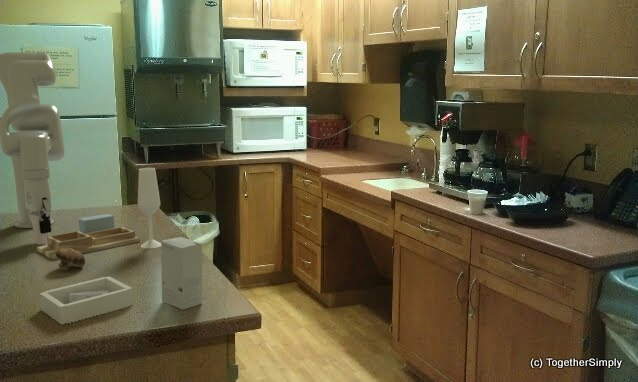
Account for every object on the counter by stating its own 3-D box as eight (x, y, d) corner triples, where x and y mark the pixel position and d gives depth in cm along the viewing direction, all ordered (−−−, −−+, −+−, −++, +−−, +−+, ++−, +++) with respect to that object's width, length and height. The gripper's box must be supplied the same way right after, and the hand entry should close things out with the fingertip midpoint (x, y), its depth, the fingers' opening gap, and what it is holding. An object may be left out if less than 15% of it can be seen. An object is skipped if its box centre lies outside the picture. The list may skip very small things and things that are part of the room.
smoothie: (45, 246, 189) (41, 202, 187) (27, 245, 191) (22, 201, 188) (58, 240, 196) (54, 197, 193) (40, 239, 197) (36, 197, 194)
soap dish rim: (40, 309, 139) (39, 292, 138) (109, 291, 150) (108, 275, 149) (62, 325, 130) (60, 307, 129) (133, 305, 141) (132, 288, 140)
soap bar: (109, 315, 144) (115, 291, 145) (108, 318, 138) (115, 293, 139) (65, 307, 141) (72, 283, 142) (63, 310, 135) (70, 284, 136)
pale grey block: (79, 236, 202) (78, 218, 201) (109, 230, 208) (108, 213, 207) (85, 238, 198) (83, 220, 197) (114, 233, 205) (113, 215, 204)
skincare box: (161, 302, 143) (157, 240, 140) (182, 295, 147) (179, 235, 144) (183, 311, 137) (180, 247, 134) (205, 303, 142) (202, 241, 139)
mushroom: (50, 264, 161) (61, 242, 163) (49, 267, 168) (59, 246, 170) (79, 275, 164) (90, 253, 166) (77, 278, 171) (87, 257, 173)
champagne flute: (151, 241, 194) (146, 166, 190) (167, 244, 191) (163, 168, 186) (135, 246, 188) (130, 169, 184) (152, 249, 185) (147, 171, 181)
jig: (36, 250, 185) (35, 237, 184) (120, 234, 203) (119, 221, 202) (53, 259, 176) (52, 245, 175) (139, 241, 194) (139, 228, 193)
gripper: (13, 172, 192) (19, 228, 196) (33, 179, 180) (39, 238, 184) (38, 170, 198) (43, 224, 201) (59, 176, 185) (64, 233, 189)
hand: (41, 230), depth 192 cm, fingers closed on smoothie, 6 cm apart
